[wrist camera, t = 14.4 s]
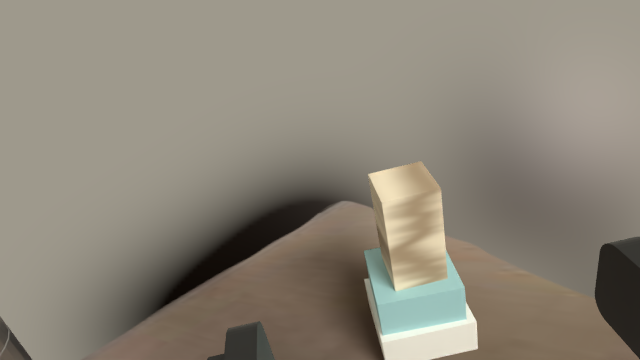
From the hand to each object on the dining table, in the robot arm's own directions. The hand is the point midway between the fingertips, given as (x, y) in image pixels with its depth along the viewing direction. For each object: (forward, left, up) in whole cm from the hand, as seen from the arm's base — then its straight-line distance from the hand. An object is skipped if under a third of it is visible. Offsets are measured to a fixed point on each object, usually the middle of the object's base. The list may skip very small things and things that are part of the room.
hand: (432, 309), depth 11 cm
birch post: (-21, +18, -22) cm, 35 cm away
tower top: (-21, +18, -26) cm, 38 cm away
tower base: (-21, +18, -30) cm, 41 cm away
